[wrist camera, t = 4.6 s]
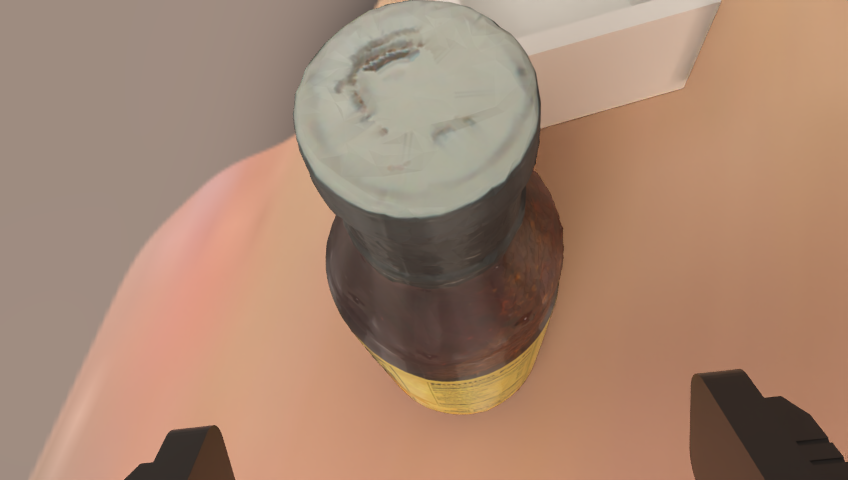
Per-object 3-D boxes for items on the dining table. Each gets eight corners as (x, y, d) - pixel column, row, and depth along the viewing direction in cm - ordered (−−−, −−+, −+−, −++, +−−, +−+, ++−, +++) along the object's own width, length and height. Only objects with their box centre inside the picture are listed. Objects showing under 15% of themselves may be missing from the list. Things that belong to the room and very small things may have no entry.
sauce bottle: (394, 269, 32) (256, -88, 13) (540, 276, 31) (609, -90, 12) (378, 423, 29) (184, 252, 11) (536, 435, 29) (613, 273, 10)
